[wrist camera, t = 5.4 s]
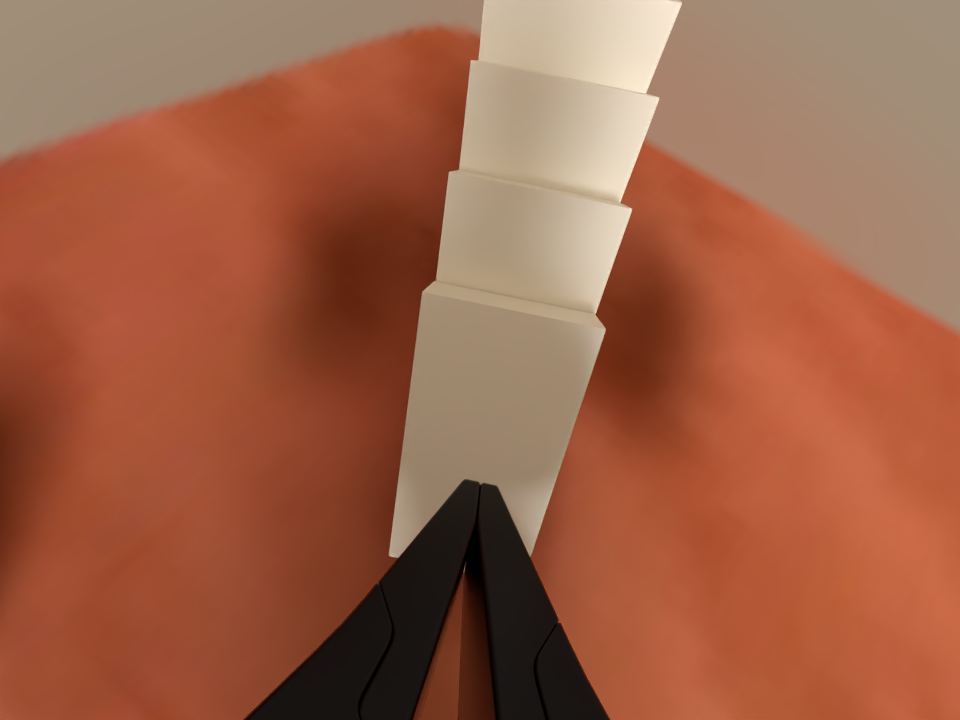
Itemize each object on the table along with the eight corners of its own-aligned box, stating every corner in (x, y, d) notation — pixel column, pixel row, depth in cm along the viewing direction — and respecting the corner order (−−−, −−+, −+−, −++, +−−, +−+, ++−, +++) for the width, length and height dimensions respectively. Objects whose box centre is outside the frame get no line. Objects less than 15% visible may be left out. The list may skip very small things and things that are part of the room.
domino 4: (564, 297, 17) (681, 2, 9) (458, 274, 17) (487, -36, 10) (565, 275, 18) (672, -8, 10) (465, 253, 18) (496, -42, 10)
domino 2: (538, 475, 15) (632, 209, 10) (415, 448, 15) (449, 171, 10) (538, 447, 16) (619, 202, 11) (425, 423, 16) (458, 169, 11)
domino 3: (553, 379, 16) (659, 97, 10) (439, 355, 16) (470, 60, 10) (553, 356, 17) (647, 93, 11) (446, 334, 17) (479, 60, 11)
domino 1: (521, 584, 14) (606, 329, 10) (388, 555, 14) (422, 291, 10) (521, 548, 15) (594, 313, 11) (400, 522, 15) (434, 281, 12)
